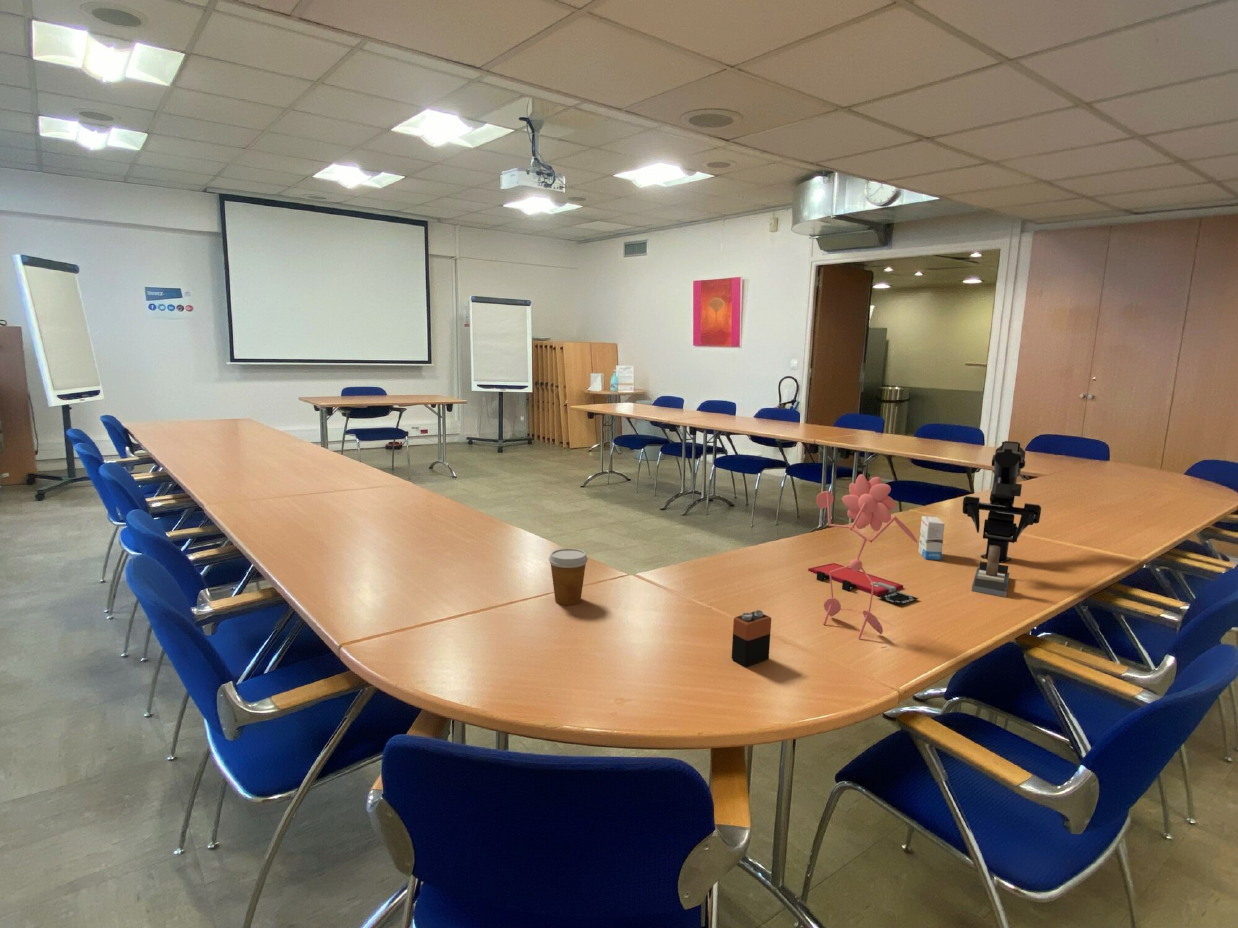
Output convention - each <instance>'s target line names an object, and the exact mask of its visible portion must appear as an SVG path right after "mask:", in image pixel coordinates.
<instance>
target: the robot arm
mask: <svg viewBox="0 0 1238 928" xmlns="http://www.w3.org/2000/svg"><path fill="white" fill-rule="evenodd" d="M1025 459H1026V451H1025V450H1024V449H1023V448H1022V447H1021V442H1019V441H1010V440H1009V441H1007V440H1004V441H1002V442H1001V445H1000V446H999V447H997V448H996V449H995V453H994V454H993V456H992V459H991V467H994V469H993V474H994V475H993V479H992V480H993V481H992V486H991V491H990V496H989V503H988V502H981V501H980V500H981V499H980V497H978V496H969V495H966V496H964V497H963V501H962V514H964V515H966V516H967V517H969V518H971V521H972V522H973V524H974V526H975V530H976V533H977V534H979V533H980V526H981V525H980V511H989V512H988V514H987V518H984V522H983V523H984V525H983V530H982V531H983V532H982V539H984V540H985V539H986V540H987V542H986V550H985V554H981V555H980V558H983V559H987V560H988V552H989V546H991V545H993V546H999V547H1000V556H999V563H1004V562H1008V561H1011V560H1012V559H1013V557H1009V556H1008V552H1009V545H1010V543H1011V544H1014V543H1017V542H1018V538H1019V537H1020V536H1021V534H1022V533H1023V531H1024V530H1025V529H1026V528H1027V527H1029V526H1033V525H1034V524H1038V523H1040V519H1041V514H1042V513H1041V512H1042V506H1041V505H1040V504H1035V503H1027V502H1024V506H1023V507H1020V506H1019V507H1018V506H1014V502H1015V497H1019V498H1020V497H1021V494H1022V486H1023V484H1021V483H1017V482H1018V481H1017V480H1018V477H1019V476H1021V470H1023V469H1024V468H1025V467H1026V461H1025ZM1015 516H1020V519H1019V523H1018V525H1017V523H1015Z"/></svg>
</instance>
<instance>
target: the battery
mask: <svg viewBox="0 0 1238 928" xmlns="http://www.w3.org/2000/svg"><path fill="white" fill-rule="evenodd" d="M732 626H733V627H732V641H731V642H732V643H731V645H732V646H731V660H733V661H734V660H735V661H734V662H737V663H738V664H739V665H742V666H743V667H746V668H747V667H750V666H752V665H755V663H756V664H758V662H759V663H761V661H762V662H764V661H766V660H768V659H769V658H770V646H771V628H772V617H771V616H770V615H767V614H764V611H763V610H759V609H757V610H755V611H752V612H742V614H741V615H738V616H734V618H733V624H732Z"/></svg>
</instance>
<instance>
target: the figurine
mask: <svg viewBox="0 0 1238 928" xmlns="http://www.w3.org/2000/svg"><path fill="white" fill-rule="evenodd" d="M848 490H849V494H846V495H843V496H842V497H841V500H842V503H843V505H844V506H845V507H847V508H848V510H847V512H846V513H847V517H848V518H849V519H852V520H854V521H853V523H852V525H844V524H843V525H842V524H834V523H832V522H831V521H832V519H831V505H833V502H834V494H833V493H832V492H831V491H830V490H826V491H822V492H820V493H818V494H817V496H816V499H815V503H816V505H817V508H819V510H823V509H826V508H827V524H828V527H833V528H834V527H835V528H843V529H849V530H850V531H851V532H852V531H853V532H854V533H855V534H856V535H858V536H859V537H861V539H863V542H862V544H861V547H860V549H859V552H858V554H857V557H856V558H854V559H851V560H850V562H849V565H845V567H842V568H839V569H836V570H832V571H830V572H829V575H830V579H829V583H830V594H831V597H829V598H826V600H825V601H824V602H823V607H824V610H825V612H826V614H825V617H824V620H823V623H822V624H823V625H826V624H827V621H828V618H829V616H830V617H833V616H835V615H837V614H838V613H840V611H841V610H844V611H850V612H855V613H860V614H863V617H864V620H863V622H862V625H861V628H860V631H859V634H858V637H857V638H858V639H861V638H862V635H863V632H864V630H865V628H866V627H865V626H867V625H866V624H867V623H868V624H869V625H870V627H871V628H873V629H874V630H875V631H876V632H877V633H878V634H880V635H882V634H883V632H884V631H883V626H882V624H881V622H880V621H883V622H884V623H887V624H889V625H890V626H892V624H891V623H890V622H888V621H886V620H884V619H882V618H879V617H877V616H876V615H874V614H873V613H872V612H871V608H872V603H873V595H874V594H873V591H874V583H873V581H872V580H871V579H870V577H869V576H868V575H867V574H868V573H867V572H866V571H865V570H864V568H863V562H862V561H861V560H860V556H861V554H862V553H863V550H864V547H865V546H866V543H867V541H868V542H870V543H873V542H874V541H875V540H877V538H878V537H879V536H880V535H881V534H882V533H883V532H884V531H885V530H886V529H887V528H888V527H889V526H890V525H891V524H893V522H894V521H895V523H896V524H897V525H898V527H899V528H900V529H901V530H902V531H903V532H904V533H905V534H906V535H907V536H908V537H909V538H910V539H911V540H912V541H914V543H916V544H917V543H918V540H917V538H916V536H915V535H914V533H913V532H912V531H911V530H910V529H909V528H908V527H907V526H906V525H905V524H904V523H903V522H902V521H901V520H900V519H899V518H898V517H897V516H895V515H894V516H892V514H891V512H890V511H892V510H894V509H897V503H896V501H895V500H894V499H893V498H892V497H891V496H889V494H891V490H892V488H891V486H890V485H889V484H887V483H882V479H881V477H880V476H874V477H872V478H871V479H869V480H867V478H866V476H865V475H864V474H863V473H861V474H859V475H858V476H857V478H856V480H855V483H854V482H851V483H849V486H848ZM883 523H884V524H885V525H884V526H883V527H882V525H883ZM869 525H870V527H871V529H872V530H873V531H876V532H877V533H876V534H874V535H873V536H872V538H870V537H869V536H867V535H865V534H864V533H862V532H861V531H859V530H863V529H865V528H866V527H868V526H869ZM855 527H856V528H857V529H856V528H855ZM847 567H848V568H851V569H852V570H854V571H861V572H864V573H865V575H866V576H867V577H868V579H869V580H870V581H871V583H872V584H873V586H872V593H870V594H871V595H870V598H869V599H870V600H869V606H868V610H867V609H864V610H862V612H861V611H857V610H853V609H852V608H851V609H850V608H849V609H848V608H841V607H842V605H841V603H840V601H839V600H838V599H837V598H835V597H834V589H833V580H832V578H831V572H834V571H838V570H841V569H844V568H847ZM878 619H879V620H880V621H879V620H878ZM884 648H886V646H882V647H881V649H884Z"/></svg>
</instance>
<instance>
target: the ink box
mask: <svg viewBox="0 0 1238 928" xmlns="http://www.w3.org/2000/svg"><path fill="white" fill-rule="evenodd" d="M920 521H921V523H920V531H919V532H920V533H919V543H918V553H919V554H920V555H921V556H922V557H923V558H924V559H925V560H932V561H933V560H935V561H942V558H943V557H942V555H943V545H944V534H945V523H944V522H943V521H942V520H941V519H940V518H939V517H937V516H925V515H922V516H921V520H920Z"/></svg>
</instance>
